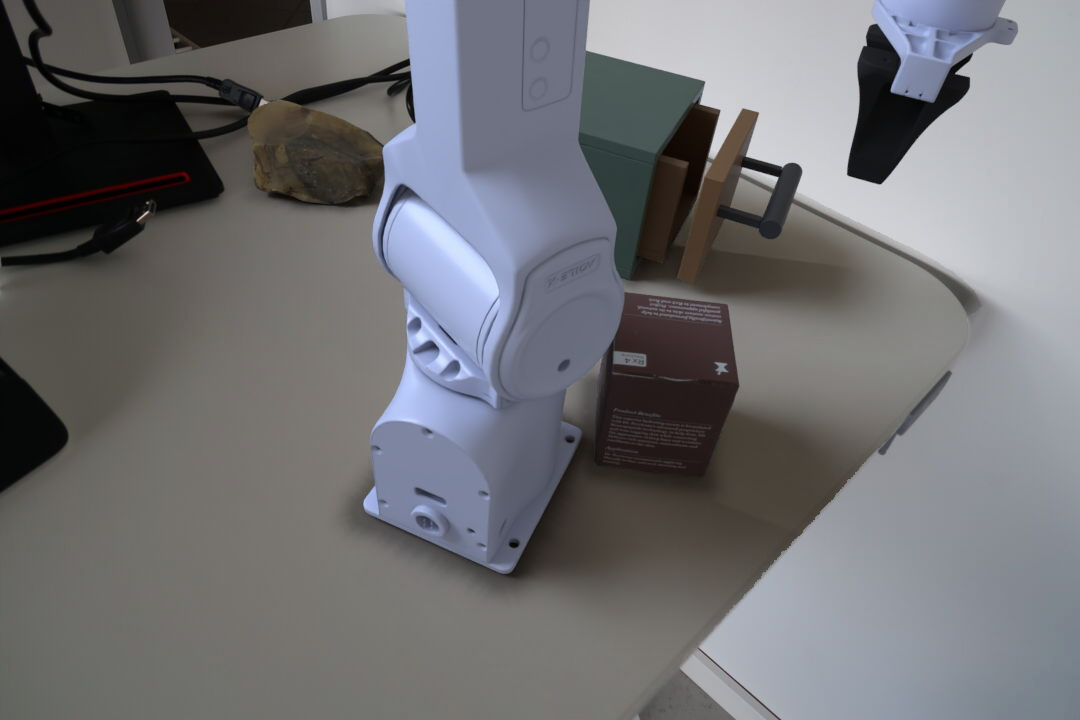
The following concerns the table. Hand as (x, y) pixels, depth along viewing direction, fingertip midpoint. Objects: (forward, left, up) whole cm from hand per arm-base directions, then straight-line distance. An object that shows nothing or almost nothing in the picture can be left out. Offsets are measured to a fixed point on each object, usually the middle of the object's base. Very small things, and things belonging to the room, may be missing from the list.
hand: (866, 167), depth 45 cm
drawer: (0, +12, -8) cm, 14 cm away
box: (-18, +6, -10) cm, 21 cm away
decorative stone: (-5, +38, -10) cm, 39 cm away
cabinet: (0, +18, -9) cm, 21 cm away
